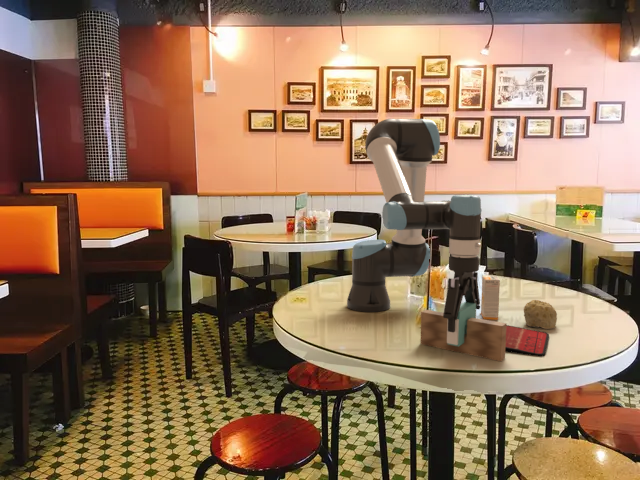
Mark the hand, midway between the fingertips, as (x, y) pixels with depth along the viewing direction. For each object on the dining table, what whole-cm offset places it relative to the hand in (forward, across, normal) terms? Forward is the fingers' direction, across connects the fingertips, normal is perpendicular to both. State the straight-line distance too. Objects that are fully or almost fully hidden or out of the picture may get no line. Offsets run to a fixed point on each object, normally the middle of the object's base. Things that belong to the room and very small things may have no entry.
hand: (461, 338), depth 135 cm
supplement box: (+4, +37, +6) cm, 38 cm away
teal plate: (+1, 0, 0) cm, 1 cm away
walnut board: (+4, 0, 0) cm, 4 cm away
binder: (+4, +17, -9) cm, 20 cm away
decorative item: (+4, +37, -10) cm, 39 cm away
